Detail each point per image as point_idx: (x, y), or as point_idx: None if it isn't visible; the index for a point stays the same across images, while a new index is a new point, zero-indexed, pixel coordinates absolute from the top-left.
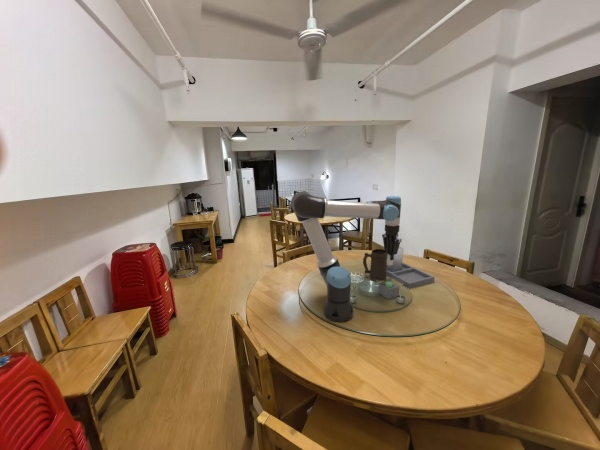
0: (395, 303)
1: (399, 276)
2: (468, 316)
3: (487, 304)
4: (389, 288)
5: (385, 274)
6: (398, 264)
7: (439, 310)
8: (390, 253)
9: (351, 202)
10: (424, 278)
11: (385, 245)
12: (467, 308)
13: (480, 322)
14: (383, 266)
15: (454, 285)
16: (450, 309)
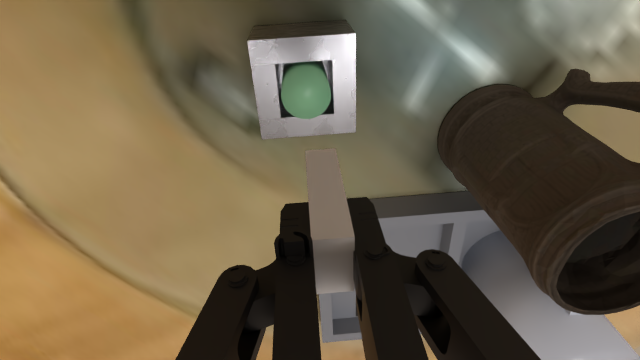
0: (199, 40)
1: (427, 238)
2: (49, 258)
3: (126, 351)
4: (261, 61)
5: (458, 173)
6: (485, 293)
7: (101, 197)
8: (292, 263)
9: None
10: (329, 306)
11: (476, 351)
12: (107, 290)
13: (6, 265)
14: (487, 189)
15: (272, 354)
16: (105, 238)
